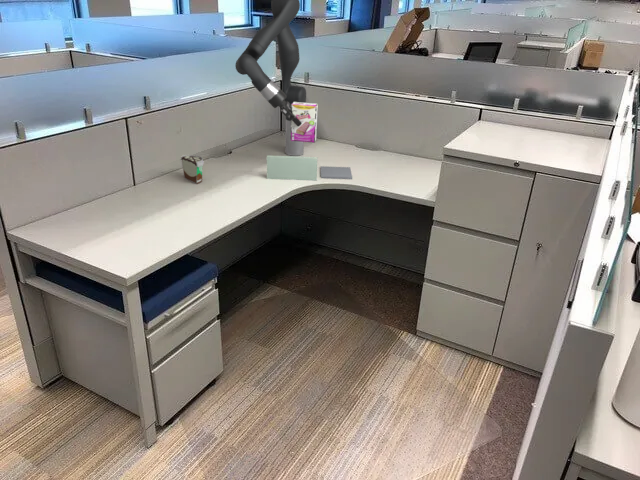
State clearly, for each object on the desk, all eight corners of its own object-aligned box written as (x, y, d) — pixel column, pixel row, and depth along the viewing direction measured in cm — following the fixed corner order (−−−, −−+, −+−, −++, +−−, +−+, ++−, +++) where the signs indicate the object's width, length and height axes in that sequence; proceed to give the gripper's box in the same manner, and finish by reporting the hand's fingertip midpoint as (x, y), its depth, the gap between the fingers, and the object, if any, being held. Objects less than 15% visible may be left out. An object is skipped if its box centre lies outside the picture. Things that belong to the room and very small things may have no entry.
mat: (320, 167, 238) (320, 166, 238) (350, 168, 239) (350, 167, 238) (321, 178, 226) (321, 176, 225) (352, 179, 226) (352, 177, 226)
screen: (267, 177, 224) (267, 155, 219) (316, 178, 225) (317, 157, 220) (266, 178, 222) (266, 156, 218) (316, 180, 223) (317, 158, 218)
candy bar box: (290, 141, 223) (290, 104, 215) (292, 137, 227) (292, 101, 219) (315, 143, 222) (316, 106, 214) (316, 139, 227) (318, 103, 219)
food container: (211, 181, 216) (209, 159, 212) (198, 185, 212) (197, 162, 208) (194, 174, 224) (192, 152, 219) (182, 177, 219) (180, 155, 215)
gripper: (278, 91, 208) (306, 121, 214) (280, 84, 221) (307, 113, 226) (265, 104, 210) (293, 133, 216) (268, 96, 223) (295, 124, 229)
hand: (300, 123), depth 221 cm, fingers closed on candy bar box, 5 cm apart
